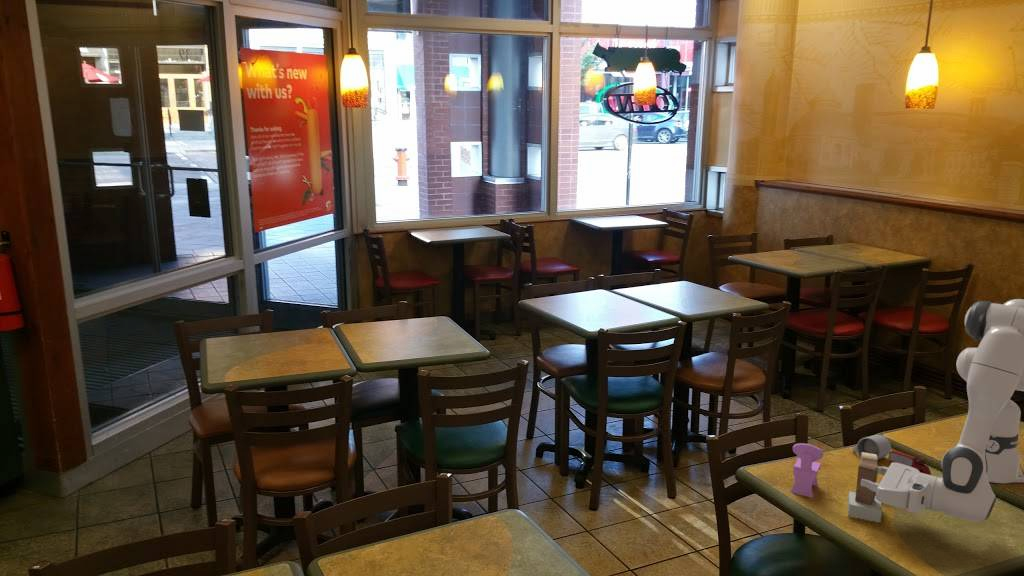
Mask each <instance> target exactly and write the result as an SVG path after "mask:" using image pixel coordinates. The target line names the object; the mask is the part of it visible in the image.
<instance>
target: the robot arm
mask: <svg viewBox="0 0 1024 576" xmlns="http://www.w3.org/2000/svg"><path fill="white" fill-rule="evenodd" d="M964 329H965V332H966V333H967V335H968V336H969V337H971V338H972V339H973V340H974V342H976V343H977V342H978V341H980V342H979V344H978V347H966V348H965V349H963V350H962V351H961V352H960V353H959V355H958V356H957V359H956V371H957V372H958V374H959V376H960V377H961V378H962V379H963V380H964V381H965V382H966V392H967V398H968V412H967V416H966V419H965V422H964V425H963V428H962V432H961V435H960V438H959V440H958V442H957V443H956V445H955V446H954V447H953V448H950V449H948V450H947V451H946V452H945V453H944V454H943V456H942V460H941V463H940V464H941V469H942V471H941V472H942V473H941V474H942V476H941V477H939V476H935V475H932V474H931V475H928V474H924V473H920V471H919V470H918V469H917V468H913V467H910V466H907V465H904V464H900V463H895V462H893V463H891V465H890V466H889V465H888V466H878V472H877V475H882V476H883V477H882V479H881V481H880V482H879V483H878V482H875V483H873V482H871V481H869V479H865V478H862V479H861V483H860V485H861V486H864V487H867V488H869V489H870V490H872V491H873V492H875V496H876V499H877V500H878V501H879V502H881V504H885V505H888V506H891V507H894V508H897V509H901V510H906V511H907V512H908V513H911V514H914V515H915V514H918V513H920V512H922V511H925V510H928V511H932V512H940V513H944V514H946V515H947V516H950V517H952V518H956V519H959V520H960V519H961V520H963V521H964V520H965V521H969V522H974V523H975V522H976V523H982V522H985V521H986V520H987V519H988V518H990V515H991V513H992V511H993V510H994V507H995V504H996V502H997V498H996V497H997V496H996V494H995V493H994V492H993V488H992V487H991V484H990V483H996V484H1011V483H1024V473H1023V471H1022V469H1021V457H1022V456H1021V454H1020V451H1019V450H1018V449H1017V446H1018V443H1019V434H1018V431H1019V427H1020V426H1019V425H1020V421H1021V416H1022V415H1021V414H1022V412H1021V408H1020V407H1019V405H1018V404H1017V403H1016V402H1014V401H1013V400H1012V399H1011V398H1012V396H1013V395H1014V393H1015V391H1021V392H1024V299H1022V298H1015V299H1010V300H1007V301H1006V302H1004V303H1003V304H1001V303H994V302H992V301H987V300H979V301H976V302H974V303H973V304H972V305H971V306H970V307H969V309H968V310H967V311H966V314H965V316H964Z"/></svg>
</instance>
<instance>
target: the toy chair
mask: <svg viewBox="0 0 1024 576" xmlns="http://www.w3.org/2000/svg"><path fill="white" fill-rule="evenodd" d="M792 452H793V453H794V455H796V456H797V457H798V458H797V460H796V462H795V463H794V465H793V470H792V472H793V476H794V484H793V486H792V488H791V490H790V491H789V492H790V493H793V494H797V495H800V496H805V497H809V498H813V499H814V493H813V487H812V486H814V487H819V483H818V478H817V477H818V476H817V475H818V472H819V471H820V469H821V467H822V466H821V465H822V463H821V462H816V461H819V460H821V459H822V458H823V457H824V451H823V450H822V449H821V448H819V447H817V446H816V445H813V444H809V443H803V442H801V443H795V444H794V445H793V446H792Z"/></svg>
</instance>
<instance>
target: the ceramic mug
mask: <svg viewBox="0 0 1024 576" xmlns="http://www.w3.org/2000/svg"><path fill="white" fill-rule="evenodd" d="M856 444H857V445H854V446H851V449H852V452H853V453H857V454H858V455H859V457H860V458H861V454H862V452H864V453H870V454H877V459H878V461H879V460H880V459H882V458H885V457H887V456H889V453H890V452H891V451H892V445H891V442H890V440H889V439H888V438H887V437H886V436H885V435H881V434H874V435H870V436H865V437H862V438H860V439H859V440H858V442H857V443H856Z"/></svg>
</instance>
